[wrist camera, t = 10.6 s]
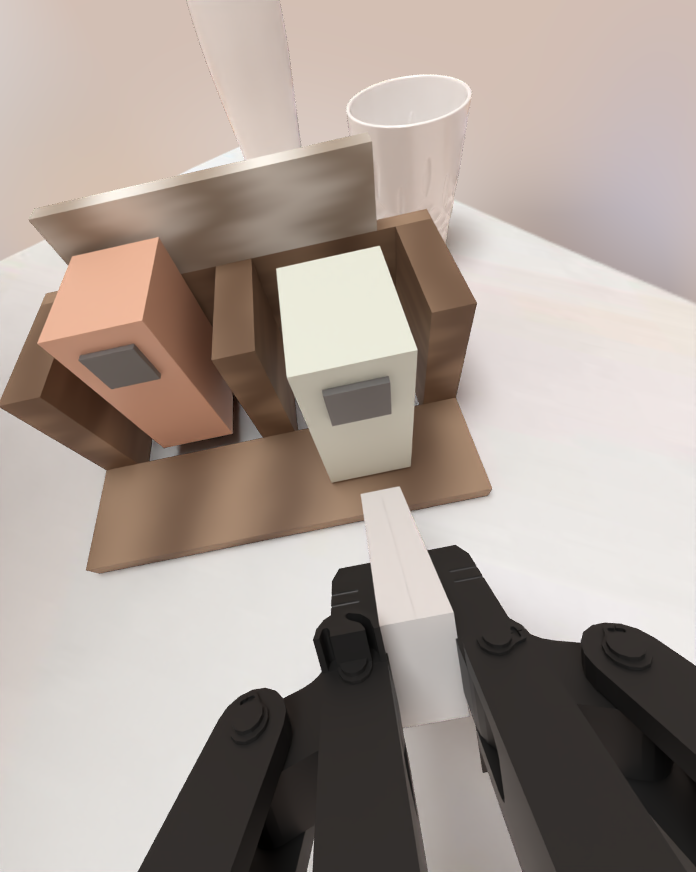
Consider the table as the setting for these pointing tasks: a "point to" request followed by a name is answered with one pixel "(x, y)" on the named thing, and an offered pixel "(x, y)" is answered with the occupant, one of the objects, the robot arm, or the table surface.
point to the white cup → (414, 142)
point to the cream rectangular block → (350, 361)
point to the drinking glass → (250, 71)
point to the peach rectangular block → (140, 342)
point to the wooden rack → (253, 354)
